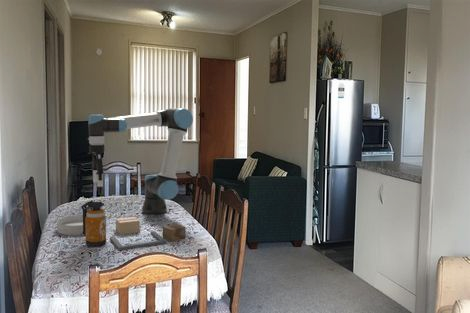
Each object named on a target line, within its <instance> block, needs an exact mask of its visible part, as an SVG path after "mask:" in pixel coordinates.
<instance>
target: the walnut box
mask: <svg viewBox="0 0 470 313" xmlns="http://www.w3.org/2000/svg"><path fill="white" fill-rule="evenodd" d="M186 228H187V227H186V226H184V225H181V224H178V223H173V224H168V225H167V224H166V225H164V226H162V238H163V239H165V240H166V241H168V242H171V243H174V242H177V241H179V242H180V241H183V240H186V239H185V238H186V237H187V236H186V231H187V230H186ZM182 239H183V240H182Z"/></svg>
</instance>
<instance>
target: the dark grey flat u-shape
mask: <svg viewBox="0 0 470 313" xmlns="http://www.w3.org/2000/svg"><path fill="white" fill-rule="evenodd" d="M150 235H151V236H152V237H154V238H155V239H156V240H154V241H153V240H152V241H147V242H139V243H133V244H126V245H122V244H121V243H120V241H119V240H118V239H117V238H116V236H115V235H112V236H109V240H110V241H111V242H112V244H113V245H114V246H115V248H116V249H117V250H118V251H124V250H125V251H126V250H131V249H139V248H144V247H146V248H147V247H152V246H159V245H165V244H167V240H166V239H163V236H161V235H160V234H159V233H158V232H157V231H155V230H151V231H150Z"/></svg>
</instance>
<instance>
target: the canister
mask: <svg viewBox="0 0 470 313" xmlns="http://www.w3.org/2000/svg"><path fill="white" fill-rule="evenodd" d="M103 206H105V203H104V202H102V201H93V200H90V201H87V202H85V203H84V204H82V205H81V206H80V208H81V210H82V215H83V232H82V235H84V236H85V244H86V245H87V246H89V247H99V246H102V245H104V244H106V243H107V216H106V214H105V213H106V212H105V210H104V208H102V207H103Z"/></svg>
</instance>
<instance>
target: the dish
mask: <svg viewBox="0 0 470 313" xmlns="http://www.w3.org/2000/svg"><path fill="white" fill-rule="evenodd" d="M56 222H57V223H56V224H57V227H56V230H57V233H59V234H61V235H67V236H81V235H80V234H82V232H83V214H75V215H68V216H65V217H61V218H59V219H58V220H57V221H56ZM82 235H83V234H82Z"/></svg>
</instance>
